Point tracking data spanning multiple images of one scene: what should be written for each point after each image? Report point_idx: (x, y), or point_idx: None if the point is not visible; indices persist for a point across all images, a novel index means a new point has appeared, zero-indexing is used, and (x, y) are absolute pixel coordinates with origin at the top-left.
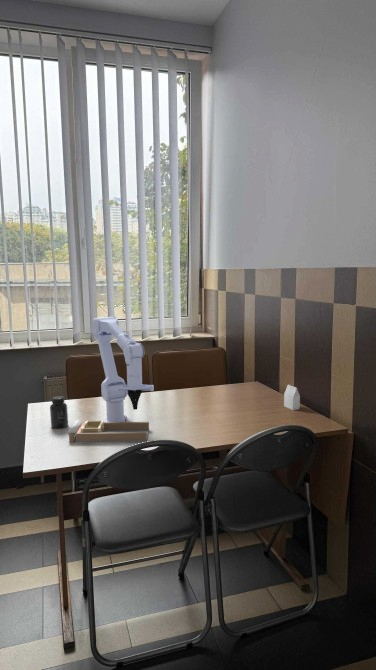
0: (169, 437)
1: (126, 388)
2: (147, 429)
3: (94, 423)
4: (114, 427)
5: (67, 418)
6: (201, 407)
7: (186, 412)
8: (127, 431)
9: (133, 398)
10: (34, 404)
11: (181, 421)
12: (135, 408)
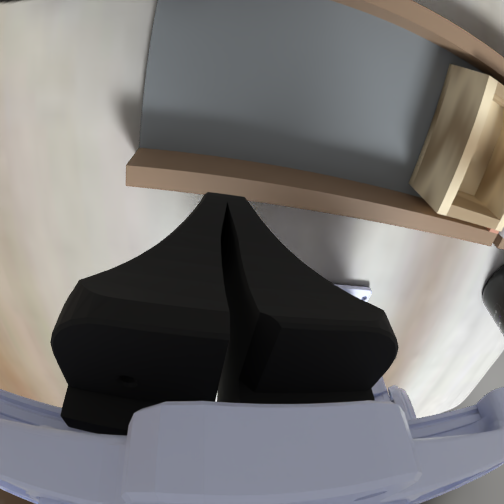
0: (31, 33)
1: (453, 453)
2: (147, 148)
3: (471, 206)
4: (359, 187)
5: (502, 299)
6: (2, 362)
7: (25, 340)
8: (282, 133)
9: (253, 265)
10: (460, 402)
11: (8, 260)
12: (220, 196)
